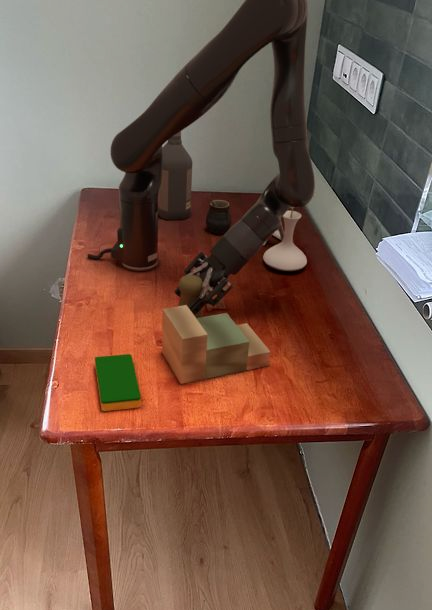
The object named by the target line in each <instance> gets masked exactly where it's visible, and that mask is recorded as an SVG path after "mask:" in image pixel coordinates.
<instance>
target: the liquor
mask: <svg viewBox="0 0 432 610" xmlns="http://www.w3.org/2000/svg"><path fill="white" fill-rule="evenodd" d="M162 148H163V161H162V180H161V185H160V188H159V191H158V216H159V217H160V219H163V220H167V221H176V220H177V221H178V220H179V221H180V220H186V219H188V218H189V217H190V215H191V211H192V210H191V209H192V206H191V205H192V183H193V159H192V157H191V155H190V154H189V153H188V151H187V149H186V148H185V146H184V145H183V140H182V131H180V132H179V133H177V134H175V135H174V136H172V137H171V138H170V139H168V140H167V141H166V142H165V143H164V145H163V146H162Z"/></svg>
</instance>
